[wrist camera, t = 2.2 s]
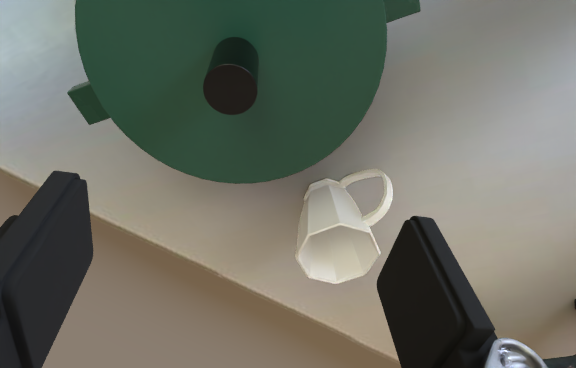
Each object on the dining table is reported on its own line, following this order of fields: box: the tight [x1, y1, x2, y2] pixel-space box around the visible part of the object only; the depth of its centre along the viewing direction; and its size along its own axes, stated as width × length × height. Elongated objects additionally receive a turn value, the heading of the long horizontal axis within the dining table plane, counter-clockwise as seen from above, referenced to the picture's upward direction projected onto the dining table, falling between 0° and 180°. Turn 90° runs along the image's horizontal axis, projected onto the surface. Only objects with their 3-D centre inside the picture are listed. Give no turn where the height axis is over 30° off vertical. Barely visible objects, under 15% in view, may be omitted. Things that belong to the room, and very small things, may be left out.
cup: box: [295, 169, 393, 285], centre depth 35 cm, size 7×10×8 cm
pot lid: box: [75, 0, 387, 184], centre depth 21 cm, size 17×17×6 cm
